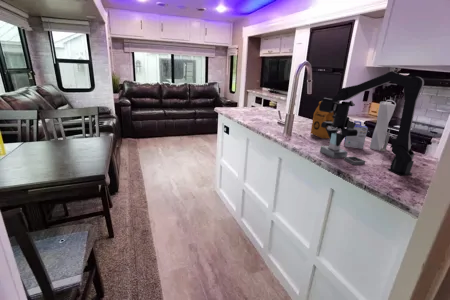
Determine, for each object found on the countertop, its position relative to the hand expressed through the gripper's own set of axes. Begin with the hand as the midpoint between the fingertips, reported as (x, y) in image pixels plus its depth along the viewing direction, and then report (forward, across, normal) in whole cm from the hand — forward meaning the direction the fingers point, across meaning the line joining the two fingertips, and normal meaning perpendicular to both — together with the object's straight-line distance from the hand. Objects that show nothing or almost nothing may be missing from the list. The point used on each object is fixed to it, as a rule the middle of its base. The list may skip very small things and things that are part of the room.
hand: (334, 144), depth 119 cm
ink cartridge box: (+5, +9, -22) cm, 24 cm away
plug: (+2, 0, 0) cm, 2 cm away
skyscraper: (+6, +3, -33) cm, 34 cm away
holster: (+5, -11, -3) cm, 12 cm away
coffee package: (+5, +31, -17) cm, 36 cm away
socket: (+5, 0, 0) cm, 5 cm away
